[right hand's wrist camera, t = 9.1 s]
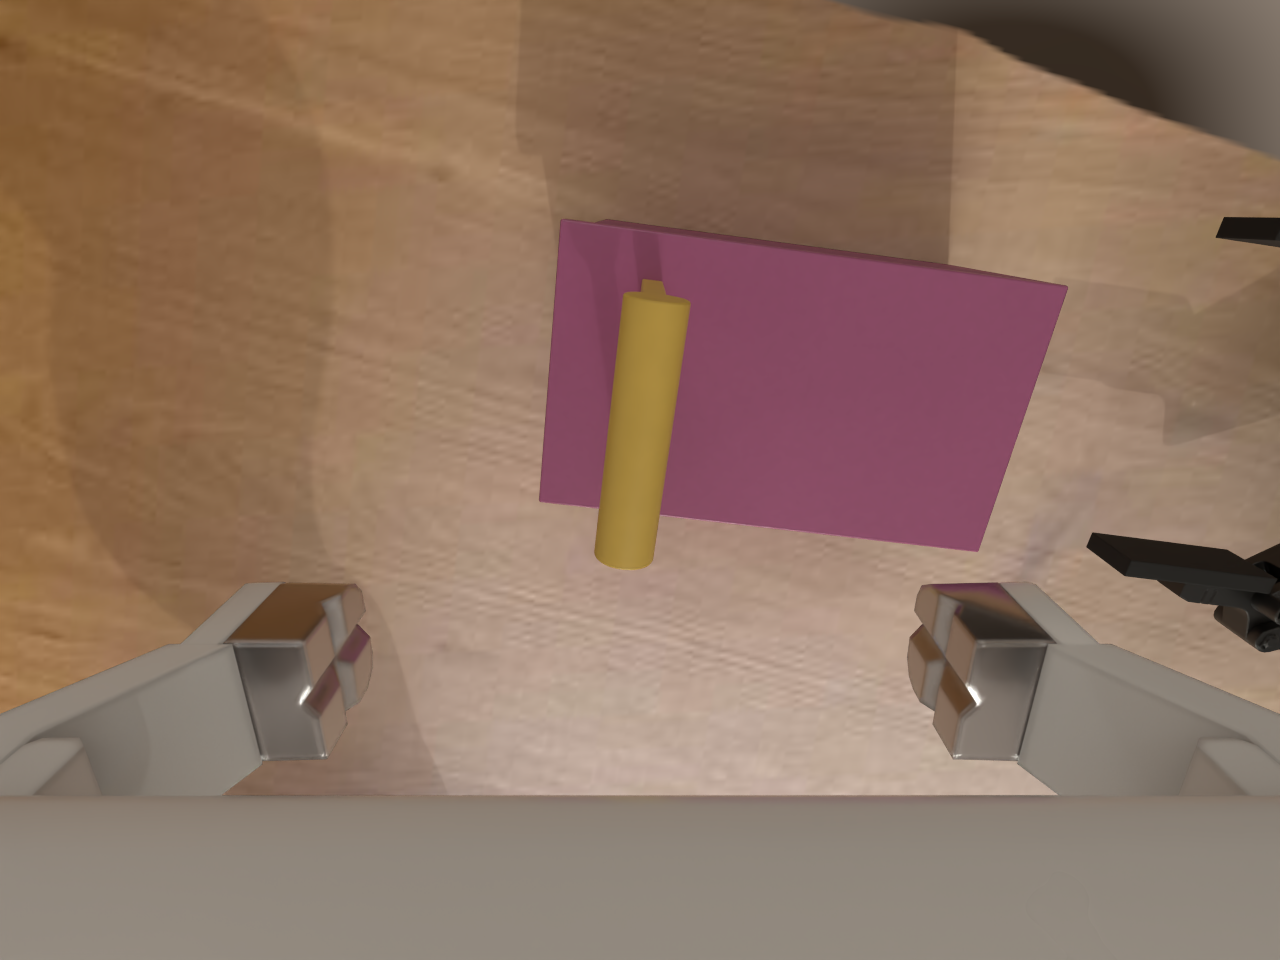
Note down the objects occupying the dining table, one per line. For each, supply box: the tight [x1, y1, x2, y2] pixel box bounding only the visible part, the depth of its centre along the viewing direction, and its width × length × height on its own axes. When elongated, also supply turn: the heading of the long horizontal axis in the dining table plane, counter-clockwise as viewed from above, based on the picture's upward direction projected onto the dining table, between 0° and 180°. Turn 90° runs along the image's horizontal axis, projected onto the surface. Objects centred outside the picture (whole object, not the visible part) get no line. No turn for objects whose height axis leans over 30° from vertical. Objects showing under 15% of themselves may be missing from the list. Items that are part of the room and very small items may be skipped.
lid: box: [539, 219, 1068, 570], centre depth 21 cm, size 17×10×8 cm, turn 83°
